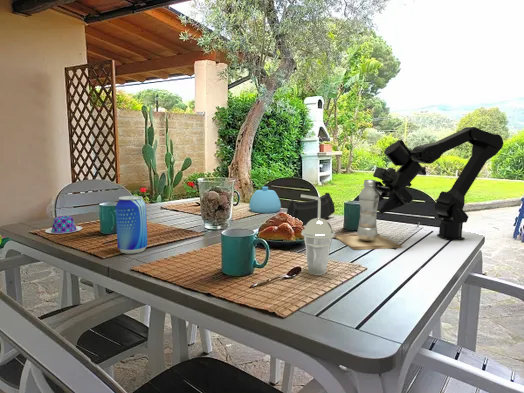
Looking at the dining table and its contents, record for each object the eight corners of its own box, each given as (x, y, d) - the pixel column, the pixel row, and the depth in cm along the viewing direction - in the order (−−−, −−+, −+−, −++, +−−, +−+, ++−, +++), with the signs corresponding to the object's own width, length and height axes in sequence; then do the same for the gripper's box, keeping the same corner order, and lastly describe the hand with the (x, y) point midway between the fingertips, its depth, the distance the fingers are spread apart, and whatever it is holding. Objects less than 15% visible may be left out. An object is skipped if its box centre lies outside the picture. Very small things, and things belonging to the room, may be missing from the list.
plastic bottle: (359, 243, 121) (362, 181, 119) (354, 237, 128) (357, 179, 125) (379, 243, 121) (383, 181, 118) (373, 238, 128) (376, 179, 125)
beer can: (153, 248, 115) (151, 196, 113) (135, 255, 108) (133, 200, 105) (130, 245, 118) (128, 194, 116) (111, 252, 110) (108, 198, 108)
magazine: (287, 206, 140) (331, 177, 159) (280, 205, 142) (324, 177, 161) (294, 246, 146) (335, 214, 165) (288, 245, 148) (329, 213, 167)
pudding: (59, 237, 129) (58, 221, 128) (37, 232, 134) (36, 218, 133) (89, 229, 139) (89, 216, 139) (68, 226, 145) (67, 212, 144)
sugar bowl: (269, 215, 170) (270, 189, 168) (242, 211, 178) (242, 187, 176) (286, 210, 182) (286, 186, 180) (260, 207, 190) (260, 184, 188)
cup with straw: (334, 279, 91) (337, 196, 88) (296, 276, 92) (298, 195, 89) (334, 267, 99) (336, 192, 96) (299, 265, 100) (301, 190, 98)
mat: (377, 235, 134) (377, 233, 134) (401, 247, 118) (401, 245, 118) (334, 237, 131) (334, 235, 131) (354, 250, 115) (354, 247, 115)
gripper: (374, 157, 131) (344, 190, 130) (406, 160, 113) (371, 197, 112) (394, 179, 134) (364, 211, 133) (428, 185, 116) (394, 222, 115)
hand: (372, 210), depth 124 cm, fingers open, 9 cm apart
